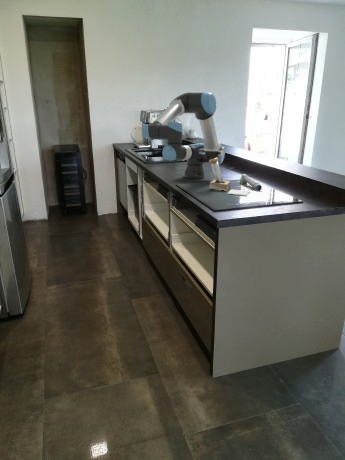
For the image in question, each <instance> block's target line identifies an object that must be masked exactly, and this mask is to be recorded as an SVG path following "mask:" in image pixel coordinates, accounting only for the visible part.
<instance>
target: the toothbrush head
mask: <svg viewBox="0 0 345 460" xmlns="http://www.w3.org/2000/svg"><path fill="white" fill-rule="evenodd" d="M239 184H241V185H247V184H248V185H249V186H250V187H252V189H253V190H254V191H261V190H262V188H263V186H262V185H261V184H260V182H257V181H255V180H253V179H252V178H250V177H249V176H248V174H245V173H242V174H241V177H240V178H239Z"/></svg>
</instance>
